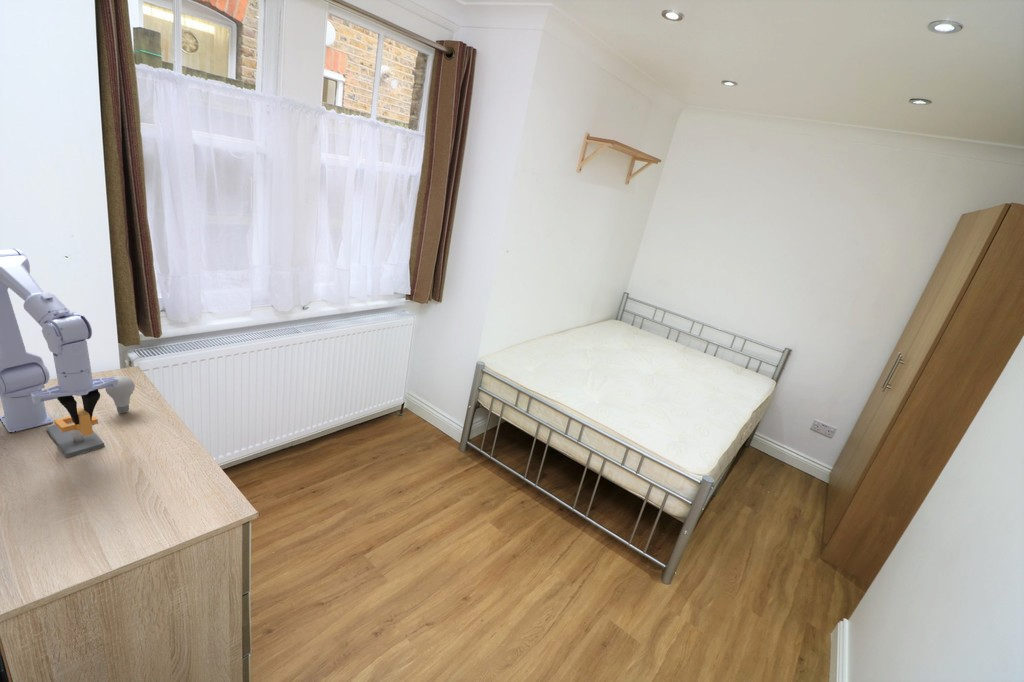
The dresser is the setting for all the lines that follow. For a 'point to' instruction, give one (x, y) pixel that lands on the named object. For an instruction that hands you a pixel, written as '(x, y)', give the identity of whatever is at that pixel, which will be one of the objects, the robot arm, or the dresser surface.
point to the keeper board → (74, 441)
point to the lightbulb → (121, 393)
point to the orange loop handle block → (82, 427)
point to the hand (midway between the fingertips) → (82, 421)
